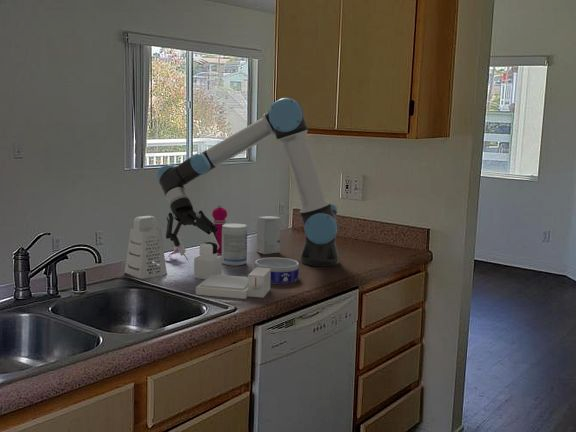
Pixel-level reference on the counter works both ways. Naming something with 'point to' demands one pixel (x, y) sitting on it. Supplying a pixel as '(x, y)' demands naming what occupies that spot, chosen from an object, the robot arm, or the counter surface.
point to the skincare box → (268, 234)
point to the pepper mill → (219, 224)
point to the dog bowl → (280, 269)
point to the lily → (176, 251)
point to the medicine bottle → (207, 261)
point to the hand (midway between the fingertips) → (200, 251)
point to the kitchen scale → (237, 285)
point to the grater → (145, 250)
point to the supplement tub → (234, 244)
